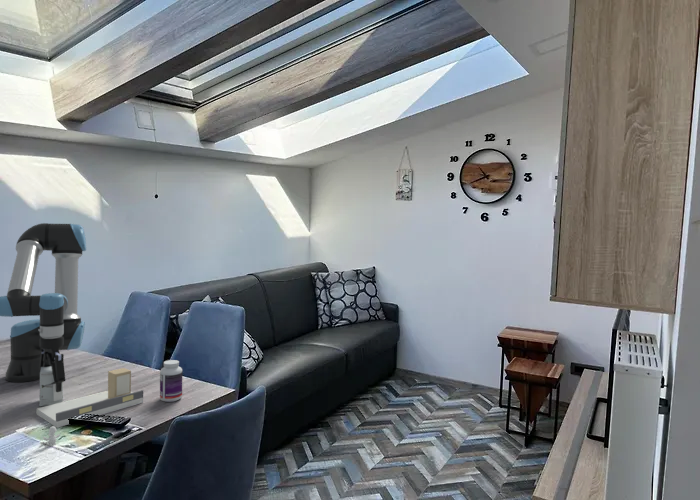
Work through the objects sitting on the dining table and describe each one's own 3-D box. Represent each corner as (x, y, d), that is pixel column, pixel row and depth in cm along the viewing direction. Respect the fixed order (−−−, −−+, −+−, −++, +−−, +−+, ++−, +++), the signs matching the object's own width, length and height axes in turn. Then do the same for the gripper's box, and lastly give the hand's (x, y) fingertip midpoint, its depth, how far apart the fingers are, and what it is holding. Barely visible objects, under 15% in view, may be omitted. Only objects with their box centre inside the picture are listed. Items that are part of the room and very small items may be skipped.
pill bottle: (186, 397, 193) (187, 360, 192) (172, 404, 185) (173, 366, 184) (169, 393, 195) (169, 357, 194) (154, 400, 188) (155, 363, 187)
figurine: (30, 448, 148) (30, 428, 148) (53, 438, 155) (53, 419, 155) (49, 453, 145) (49, 433, 145) (72, 443, 153) (72, 424, 152)
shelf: (36, 414, 171) (36, 401, 171) (121, 392, 195) (121, 380, 195) (57, 427, 162) (57, 414, 161) (143, 402, 185) (143, 390, 185)
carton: (107, 397, 183) (108, 371, 183) (123, 393, 188) (124, 367, 187) (115, 401, 180) (115, 374, 180) (130, 397, 185) (131, 370, 184)
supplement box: (38, 407, 178) (38, 372, 177) (40, 399, 184) (40, 366, 183) (62, 404, 181) (62, 370, 180) (63, 397, 188) (63, 364, 187)
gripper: (28, 332, 184) (28, 391, 186) (53, 343, 171) (53, 407, 173) (50, 329, 190) (49, 386, 192) (76, 339, 177) (76, 401, 179)
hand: (51, 396), depth 182 cm, fingers closed on supplement box, 9 cm apart
